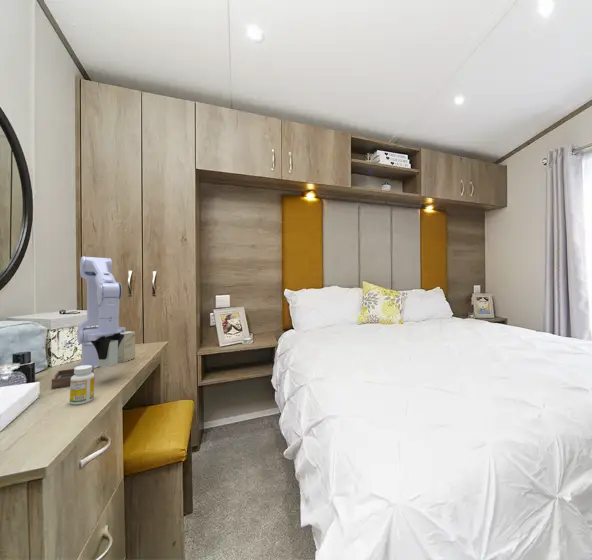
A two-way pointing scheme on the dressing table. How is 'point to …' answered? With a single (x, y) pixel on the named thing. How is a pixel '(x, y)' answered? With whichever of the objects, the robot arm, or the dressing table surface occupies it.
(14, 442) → the dressing table surface
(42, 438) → the dressing table surface
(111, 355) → the sage peg
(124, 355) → the skincare box
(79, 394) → the supplement bottle
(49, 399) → the dressing table surface
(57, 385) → the bore box
